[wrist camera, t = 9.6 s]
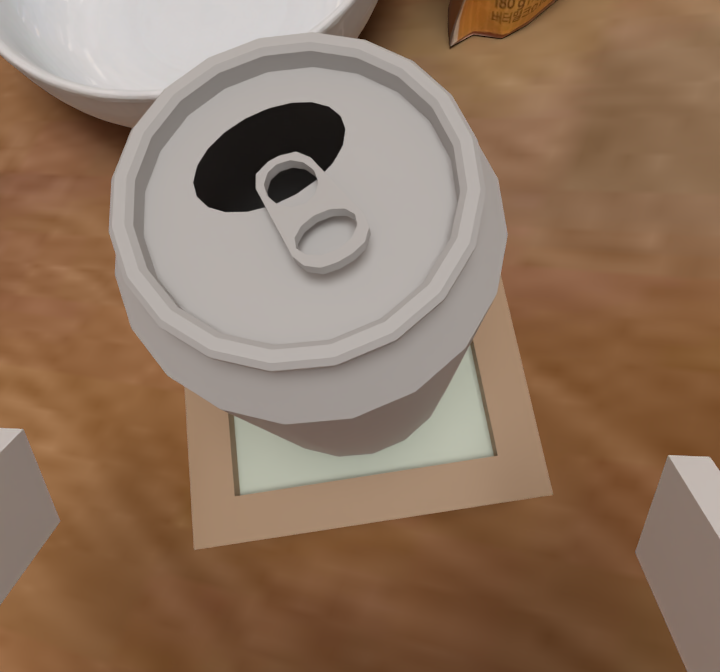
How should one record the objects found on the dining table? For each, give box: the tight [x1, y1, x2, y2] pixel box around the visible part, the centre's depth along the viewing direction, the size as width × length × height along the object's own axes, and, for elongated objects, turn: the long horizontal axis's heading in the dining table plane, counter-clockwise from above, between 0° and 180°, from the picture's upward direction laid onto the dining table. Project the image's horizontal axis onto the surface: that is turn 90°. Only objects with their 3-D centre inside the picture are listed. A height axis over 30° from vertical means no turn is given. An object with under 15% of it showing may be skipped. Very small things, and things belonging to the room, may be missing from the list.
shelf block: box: [185, 274, 553, 550], centre depth 22 cm, size 12×12×6 cm
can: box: [109, 32, 508, 457], centre depth 14 cm, size 8×8×12 cm
